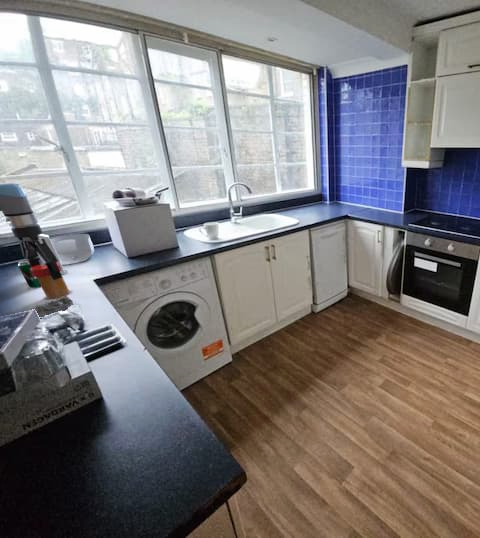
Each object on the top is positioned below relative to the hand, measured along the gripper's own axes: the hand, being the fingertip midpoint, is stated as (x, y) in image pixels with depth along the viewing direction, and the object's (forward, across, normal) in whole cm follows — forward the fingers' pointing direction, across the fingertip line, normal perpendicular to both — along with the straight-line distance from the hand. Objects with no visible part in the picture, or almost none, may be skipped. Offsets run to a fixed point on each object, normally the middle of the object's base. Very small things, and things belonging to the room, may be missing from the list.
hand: (48, 276), depth 120 cm
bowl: (+9, -47, +29) cm, 56 cm away
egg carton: (+9, +16, -8) cm, 20 cm away
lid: (-4, 0, 0) cm, 4 cm away
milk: (+9, -30, +13) cm, 33 cm away
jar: (+9, 0, 0) cm, 9 cm away
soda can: (+9, -21, +2) cm, 23 cm away
